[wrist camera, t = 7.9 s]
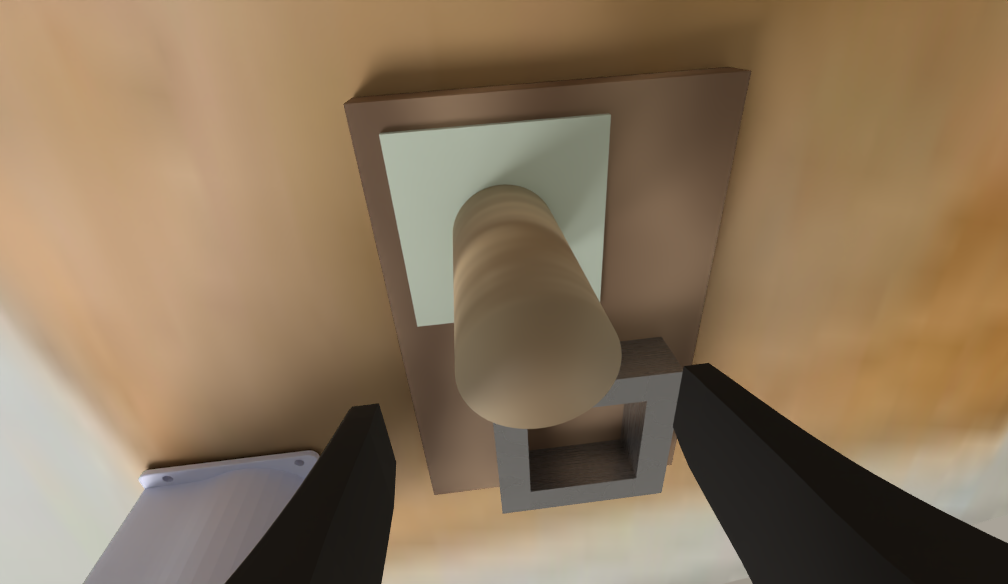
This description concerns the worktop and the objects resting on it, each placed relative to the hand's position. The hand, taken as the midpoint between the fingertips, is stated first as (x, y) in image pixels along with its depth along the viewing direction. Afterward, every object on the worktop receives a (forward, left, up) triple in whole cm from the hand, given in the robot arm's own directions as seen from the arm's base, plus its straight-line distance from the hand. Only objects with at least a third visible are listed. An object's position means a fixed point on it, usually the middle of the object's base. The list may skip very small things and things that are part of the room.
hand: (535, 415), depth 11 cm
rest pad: (0, +1, -9) cm, 9 cm away
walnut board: (+2, -4, -10) cm, 11 cm away
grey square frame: (+3, -9, -9) cm, 13 cm away
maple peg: (0, +1, -9) cm, 9 cm away
